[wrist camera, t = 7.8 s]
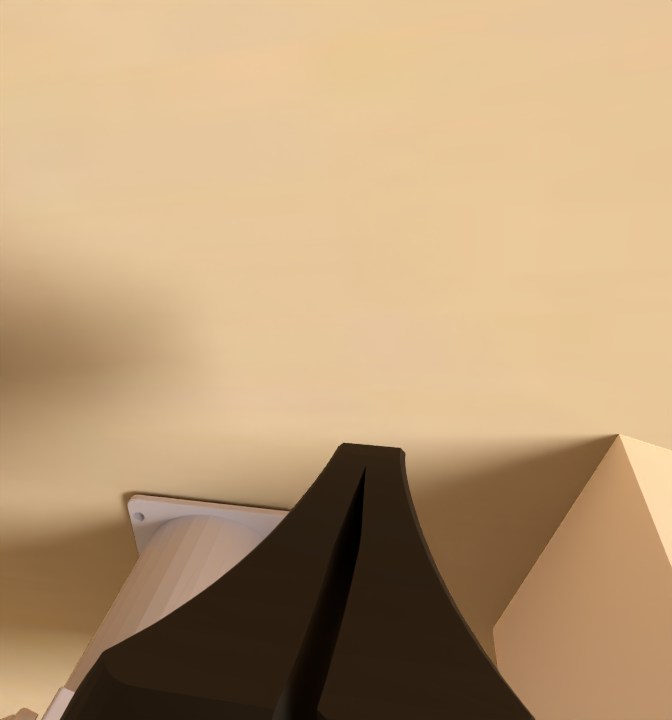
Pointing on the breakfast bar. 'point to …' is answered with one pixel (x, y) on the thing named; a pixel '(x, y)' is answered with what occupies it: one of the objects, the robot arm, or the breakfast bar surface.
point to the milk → (599, 600)
